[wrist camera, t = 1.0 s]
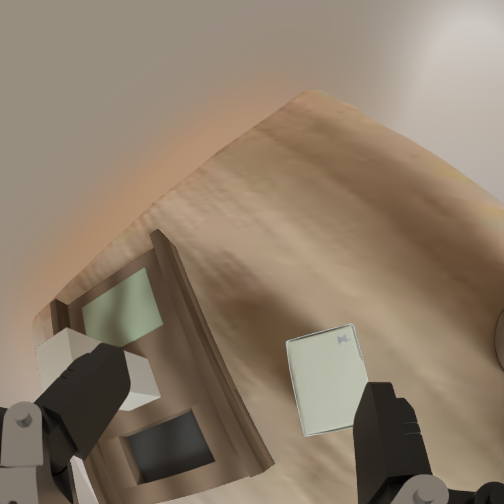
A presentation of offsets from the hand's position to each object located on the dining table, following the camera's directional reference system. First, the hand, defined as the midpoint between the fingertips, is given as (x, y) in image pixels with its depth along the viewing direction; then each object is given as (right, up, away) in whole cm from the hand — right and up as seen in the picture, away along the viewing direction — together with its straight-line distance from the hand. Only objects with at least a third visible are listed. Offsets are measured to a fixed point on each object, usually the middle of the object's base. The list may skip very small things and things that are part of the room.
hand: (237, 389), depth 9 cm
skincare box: (+8, -8, +18) cm, 21 cm away
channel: (-11, -11, +22) cm, 27 cm away
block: (-12, -10, +21) cm, 26 cm away
